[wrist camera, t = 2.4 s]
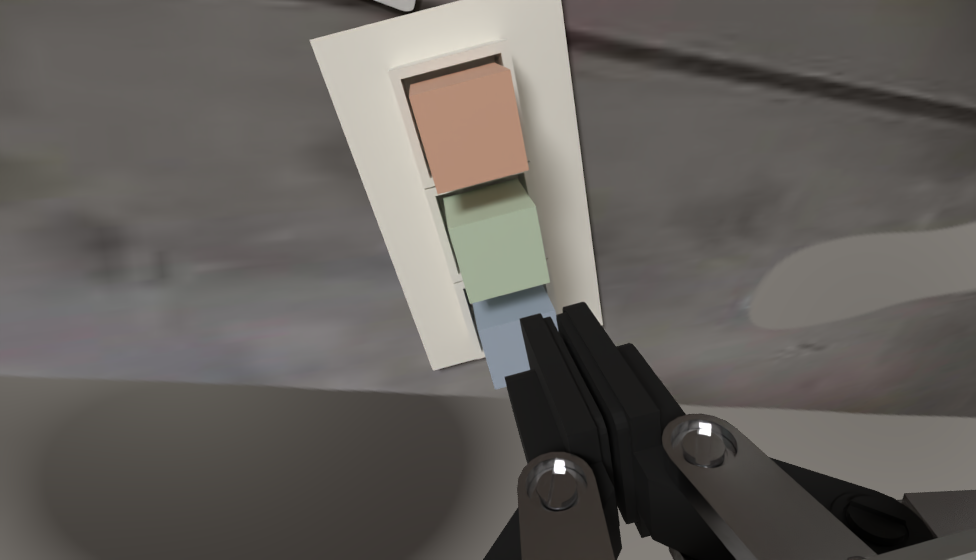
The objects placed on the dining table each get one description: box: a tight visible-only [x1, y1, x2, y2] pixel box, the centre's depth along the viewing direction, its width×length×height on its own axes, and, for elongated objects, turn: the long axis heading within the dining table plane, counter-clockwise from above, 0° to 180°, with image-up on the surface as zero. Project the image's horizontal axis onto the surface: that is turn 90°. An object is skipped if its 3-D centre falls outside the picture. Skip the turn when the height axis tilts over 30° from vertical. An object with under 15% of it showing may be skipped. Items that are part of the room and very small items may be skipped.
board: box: [310, 0, 603, 370], centre depth 30 cm, size 14×24×4 cm, turn 13°
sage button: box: [443, 179, 550, 304], centre depth 27 cm, size 5×5×5 cm
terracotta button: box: [409, 63, 529, 194], centre depth 24 cm, size 5×5×5 cm
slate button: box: [472, 285, 558, 389], centre depth 30 cm, size 5×5×5 cm
